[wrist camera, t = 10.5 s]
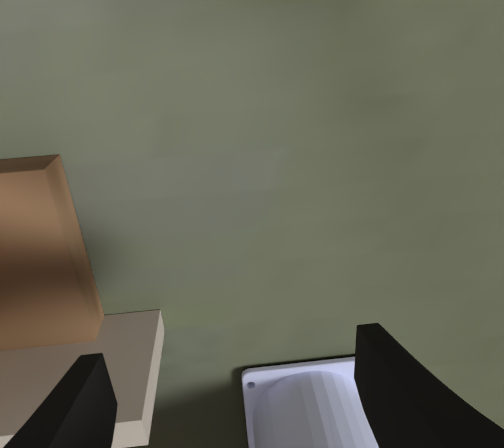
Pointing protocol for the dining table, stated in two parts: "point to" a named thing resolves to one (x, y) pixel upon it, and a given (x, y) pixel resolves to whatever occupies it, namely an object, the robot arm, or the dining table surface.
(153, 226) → the dining table surface
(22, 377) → the shelf board
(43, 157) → the brown rectangular panel
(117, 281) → the dining table surface
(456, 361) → the dining table surface
